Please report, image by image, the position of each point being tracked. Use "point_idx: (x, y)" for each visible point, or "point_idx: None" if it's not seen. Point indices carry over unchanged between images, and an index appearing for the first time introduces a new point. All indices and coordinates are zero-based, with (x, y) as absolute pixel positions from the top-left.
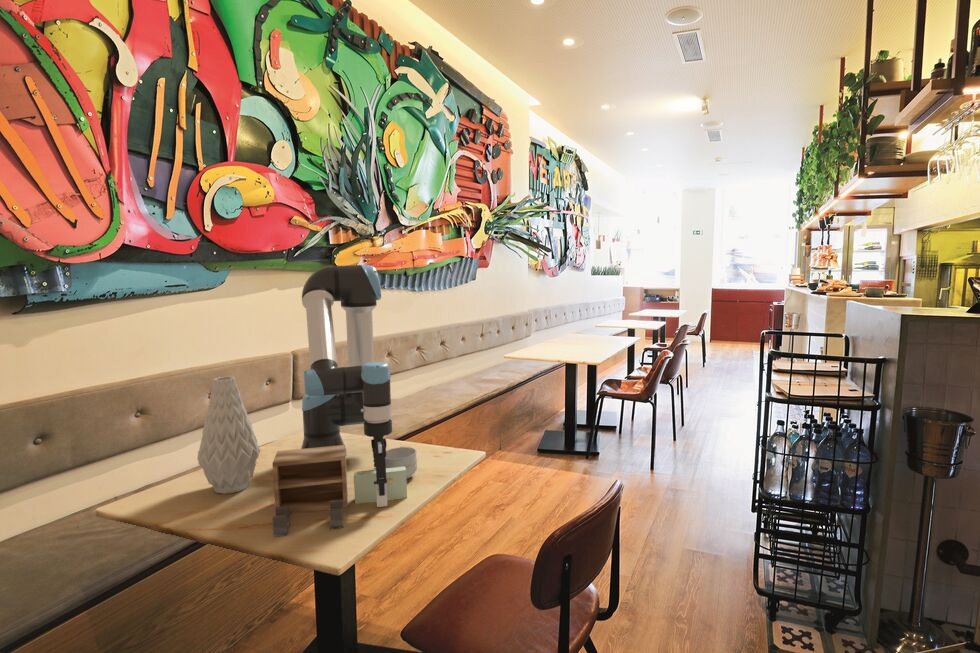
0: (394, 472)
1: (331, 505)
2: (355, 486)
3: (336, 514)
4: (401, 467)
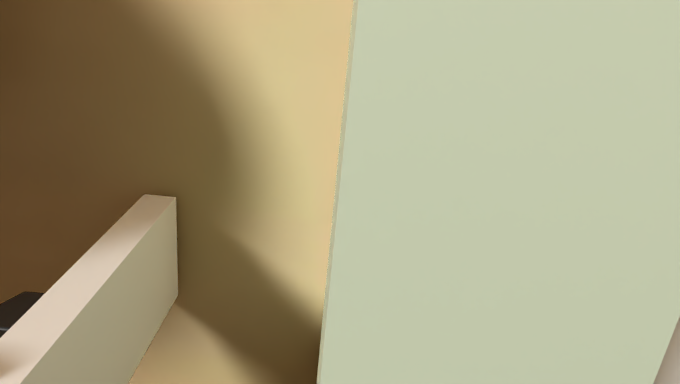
0: (658, 314)
1: None
2: None
3: None
4: (429, 55)
